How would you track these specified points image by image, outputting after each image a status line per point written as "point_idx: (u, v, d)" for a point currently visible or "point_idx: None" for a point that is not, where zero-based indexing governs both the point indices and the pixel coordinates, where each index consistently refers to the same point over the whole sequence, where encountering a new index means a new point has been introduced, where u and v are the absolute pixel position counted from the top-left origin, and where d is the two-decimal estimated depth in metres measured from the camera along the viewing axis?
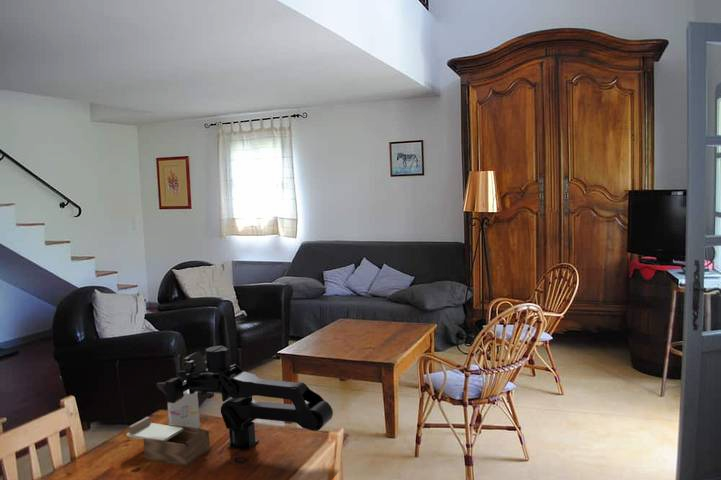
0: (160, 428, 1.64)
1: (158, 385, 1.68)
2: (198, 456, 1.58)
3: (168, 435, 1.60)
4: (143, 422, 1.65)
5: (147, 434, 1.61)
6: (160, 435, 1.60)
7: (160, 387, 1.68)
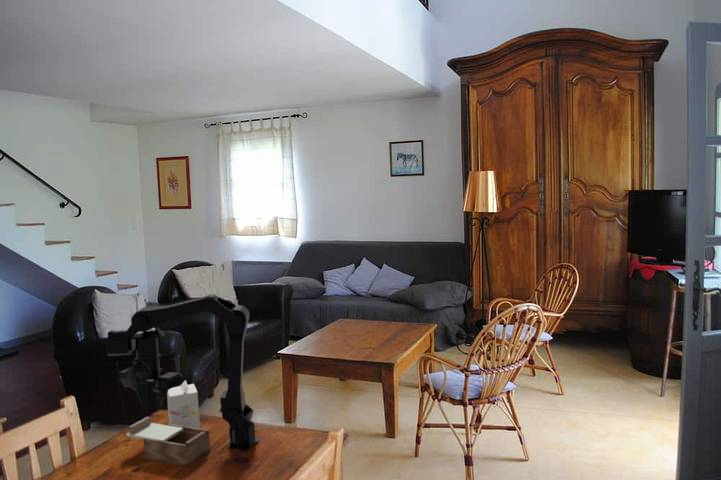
0: (160, 428, 1.64)
1: (160, 406, 1.61)
2: (198, 456, 1.58)
3: (168, 435, 1.60)
4: (143, 422, 1.65)
5: (147, 434, 1.61)
6: (160, 435, 1.60)
7: (161, 402, 1.61)
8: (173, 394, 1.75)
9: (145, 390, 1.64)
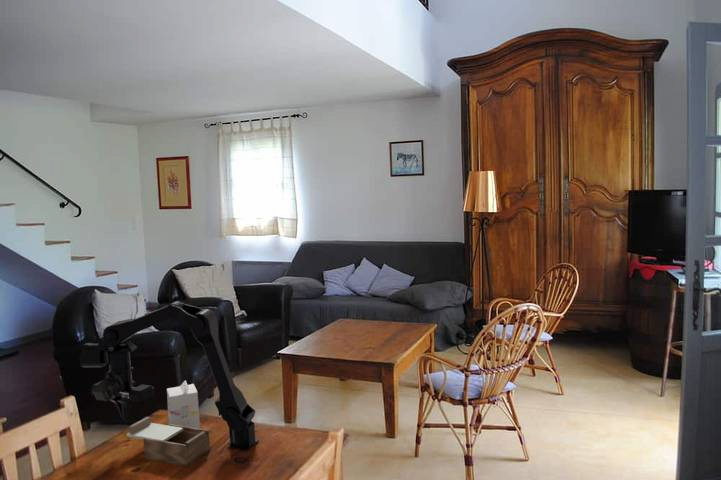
0: (160, 428, 1.64)
1: (125, 416, 1.67)
2: (198, 456, 1.58)
3: (168, 435, 1.60)
4: (143, 422, 1.65)
5: (147, 434, 1.61)
6: (160, 435, 1.60)
7: (127, 412, 1.67)
8: (172, 394, 1.75)
9: None
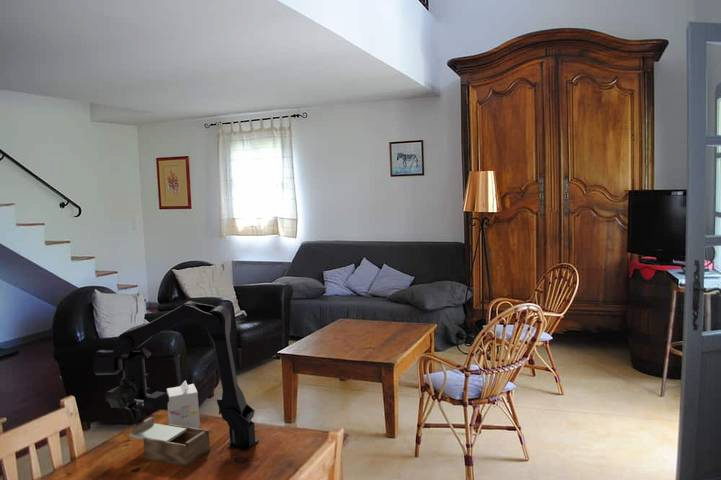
0: (163, 429, 1.64)
1: None
2: (198, 456, 1.58)
3: (171, 436, 1.59)
4: (146, 423, 1.65)
5: (150, 435, 1.61)
6: (163, 435, 1.60)
7: (141, 419, 1.65)
8: (173, 394, 1.75)
9: None
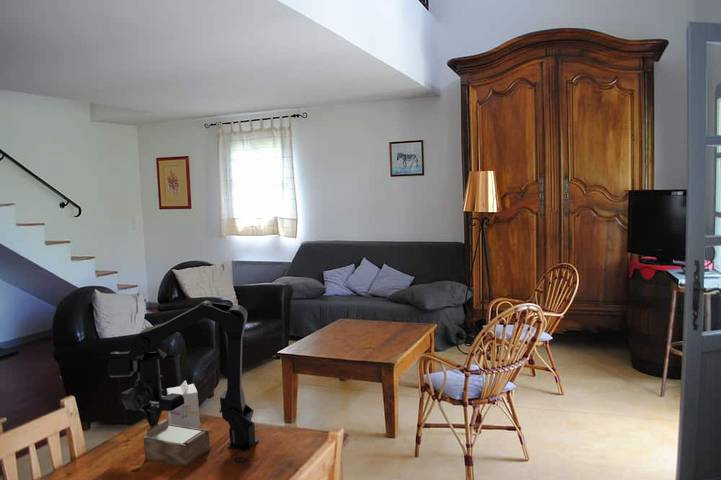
0: (178, 431, 1.62)
1: None
2: (198, 456, 1.58)
3: (187, 438, 1.57)
4: (161, 425, 1.63)
5: (165, 437, 1.59)
6: (179, 438, 1.58)
7: (156, 421, 1.63)
8: None
9: None
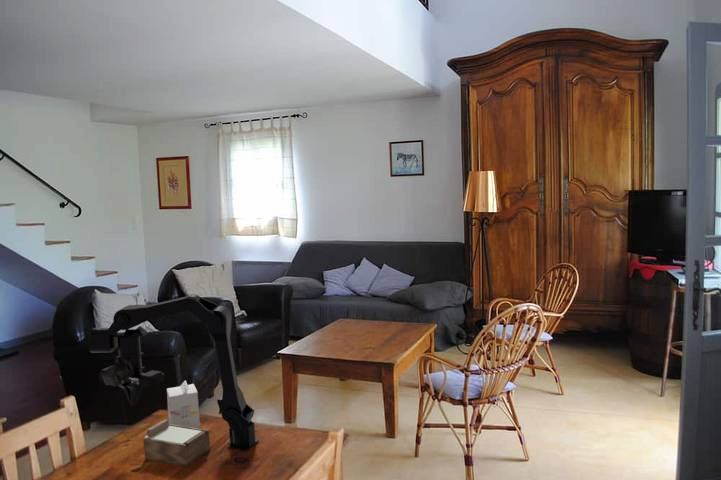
0: (179, 431, 1.62)
1: (134, 402, 1.63)
2: (198, 456, 1.58)
3: (187, 438, 1.57)
4: (161, 425, 1.63)
5: (166, 437, 1.58)
6: (179, 438, 1.58)
7: (136, 398, 1.64)
8: (172, 394, 1.75)
9: None
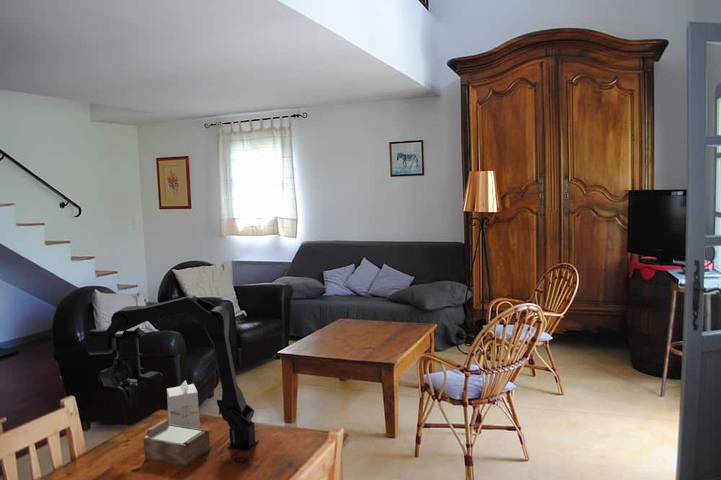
0: (179, 431, 1.62)
1: (133, 403, 1.64)
2: (198, 456, 1.58)
3: (187, 438, 1.57)
4: (161, 425, 1.63)
5: (166, 437, 1.58)
6: (179, 438, 1.58)
7: (135, 400, 1.64)
8: (172, 394, 1.75)
9: None
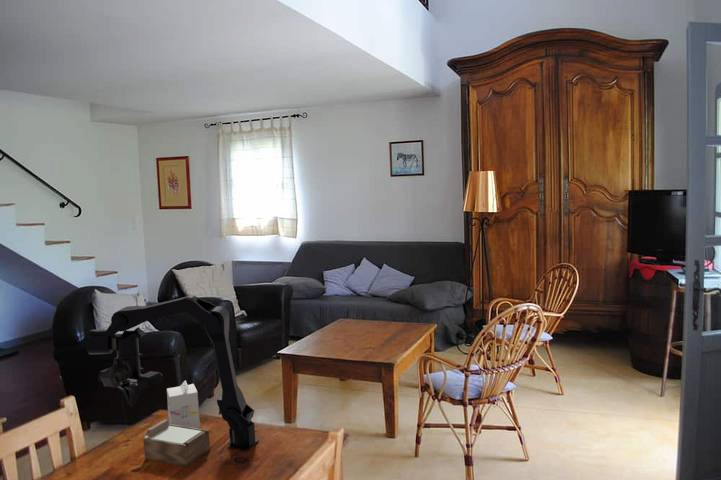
0: (179, 431, 1.62)
1: (133, 403, 1.64)
2: (198, 456, 1.58)
3: (187, 438, 1.57)
4: (161, 425, 1.63)
5: (166, 437, 1.58)
6: (179, 438, 1.58)
7: (135, 400, 1.64)
8: (172, 394, 1.75)
9: None
